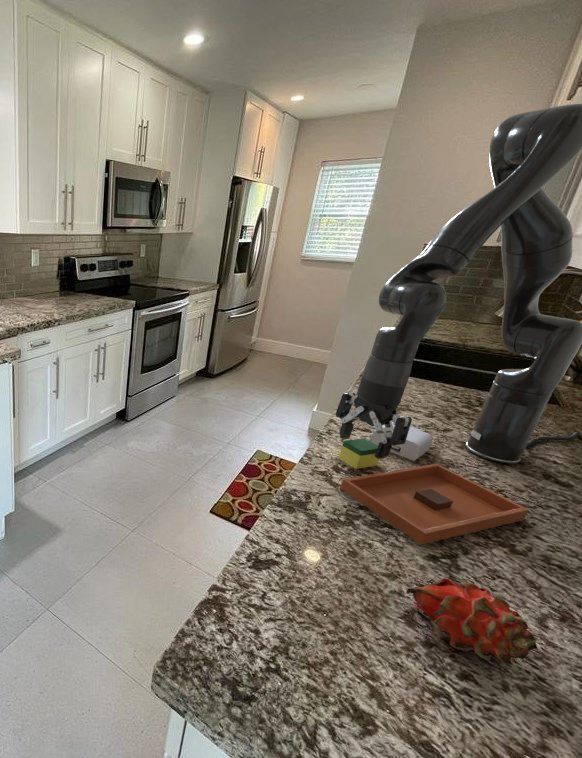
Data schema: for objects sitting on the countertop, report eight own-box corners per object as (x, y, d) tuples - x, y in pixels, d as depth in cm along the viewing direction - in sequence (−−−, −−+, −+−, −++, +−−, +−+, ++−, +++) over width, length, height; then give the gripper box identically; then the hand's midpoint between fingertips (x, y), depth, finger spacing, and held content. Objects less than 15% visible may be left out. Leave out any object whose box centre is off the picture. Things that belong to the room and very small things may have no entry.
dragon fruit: (527, 692, 48) (399, 632, 57) (536, 621, 51) (413, 575, 60) (541, 676, 43) (398, 613, 52) (549, 599, 46) (414, 552, 55)
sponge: (358, 457, 94) (364, 437, 93) (376, 467, 90) (383, 447, 88) (337, 460, 93) (343, 440, 91) (355, 471, 89) (361, 451, 87)
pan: (432, 474, 88) (436, 463, 87) (522, 522, 74) (529, 509, 74) (339, 491, 82) (342, 479, 81) (419, 547, 68) (425, 533, 67)
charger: (436, 445, 101) (413, 463, 92) (392, 430, 108) (368, 445, 100) (442, 428, 99) (420, 445, 91) (398, 414, 106) (374, 428, 98)
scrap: (428, 494, 80) (430, 488, 80) (450, 507, 77) (453, 501, 76) (413, 497, 79) (415, 491, 79) (435, 510, 76) (438, 504, 75)
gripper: (434, 390, 79) (406, 463, 85) (366, 366, 92) (346, 431, 97) (405, 393, 77) (378, 467, 82) (340, 368, 89) (321, 434, 95)
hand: (361, 447), depth 90 cm, fingers open, 8 cm apart
